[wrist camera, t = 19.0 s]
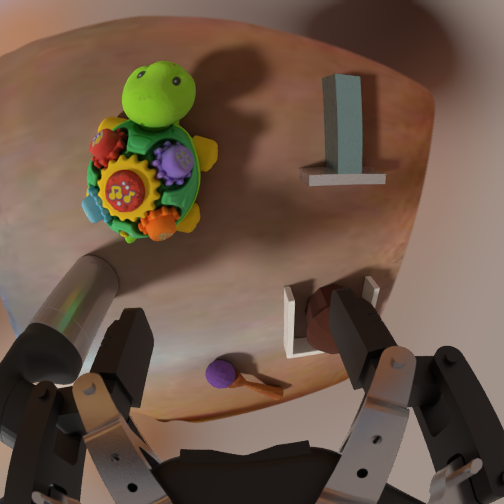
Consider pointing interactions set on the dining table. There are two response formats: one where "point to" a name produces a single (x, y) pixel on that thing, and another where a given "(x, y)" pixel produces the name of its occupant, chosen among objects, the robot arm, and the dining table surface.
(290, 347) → the bay
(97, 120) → the dining table surface
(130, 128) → the turtle toy
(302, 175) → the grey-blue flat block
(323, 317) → the muffin
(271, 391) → the purple ball-ended brown rod
